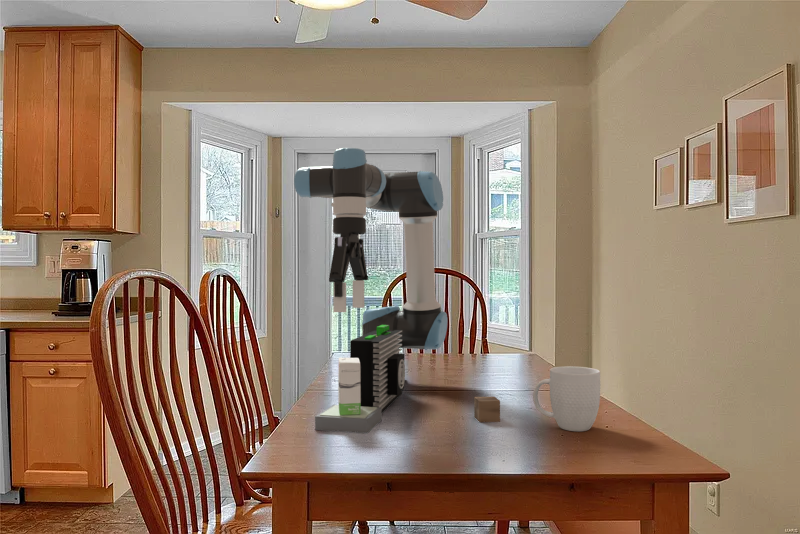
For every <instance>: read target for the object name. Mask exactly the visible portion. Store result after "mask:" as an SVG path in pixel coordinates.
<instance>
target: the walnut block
mask: <svg viewBox="0 0 800 534" xmlns="http://www.w3.org/2000/svg"><path fill="white" fill-rule="evenodd" d="M473 402H474V404H473V405H474V408H473V409H474V410H473V412H474V413H473V415H474V416H473V417H475V418H476V419H477V420H478V421H479V422H478V421H477V420H476V419H475V418H474V419H475V420H476V421H477V422H478V423H500V422H501V400H500V399H499V398H497V397H496V396H474V401H473Z"/></svg>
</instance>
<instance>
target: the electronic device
mask: <svg viewBox="0 0 800 534" xmlns="http://www.w3.org/2000/svg"><path fill="white" fill-rule="evenodd" d="M400 332H402V330H394V331H389V325H380V326H378V327H377V331H372V332H370V333H367V334H365V335H363V336H362V335H361V336H358V337H355V338H354V339H352V340H350V342H349V343H350V344H349V347H350V348H349V349H350V350H349V351H350V352H349V356H350V357H349V358H359V361H360V385H361V406H362V407H379V408H382V414H383V413H384V412H385V411H386V410H387V409H388V408H389V407H390V406H391V405H392V404H393V403H394V402H396V400H397V399H398V398H400V396H401V395H402V394H403V390H405V380H406V365H405V364H406V363H405V353H402V352H401V351H403V348H399V347H400V346H402V344H398V343H399V342H401V341H402V339H398V338H400V337H402V335H397V334H399V333H400ZM398 348H399V349H398ZM398 352H399V353H398ZM400 352H401V353H400Z"/></svg>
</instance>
